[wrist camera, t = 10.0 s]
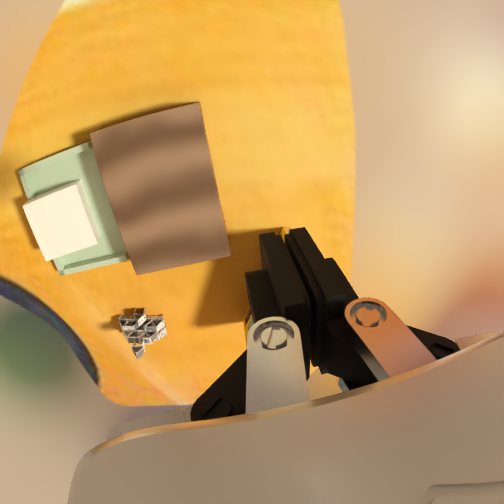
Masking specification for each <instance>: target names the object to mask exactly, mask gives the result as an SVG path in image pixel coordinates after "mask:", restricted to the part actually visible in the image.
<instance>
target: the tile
mask: <svg viewBox="0 0 504 504" xmlns="http://www.w3.org/2000/svg"><path fill="white" fill-rule="evenodd" d="M23 209H24V212H25V214H26V217H27V219H28V222H29V224H30V226H31V229H32V231H33V234H34V236H35V238H36V240H37V243H38V245H39V247H40V249H41V252H42V254H43V256H44V258H45V260H46V261H49V260H52V259H55V258H57V257H60V256H63V255H66V254H69V253H72V252H75V251H78V250H81V249H84V248H87V247H90V246H93V245H96V244H98V242H99V239H100V236H101V235H100V233H99V230H98V228H97V225H96V222H95V219H94V217H93V214H92V211H91V208H90V206H89V203H88V200H87V197H86V194H85V191H84V188H83V185H82V182H81V179H79V180H77V181H74V182H71V183H69V184H66V185H64V186H61V187H58V188H56V189H53V190H51V191H49V192H46V193H44V194H41V195H39V196H37V197H34V198H32V199H30V200H28V201H27V202H26V203H25V204H24V205H23Z"/></svg>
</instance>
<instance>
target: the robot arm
mask: <svg viewBox="0 0 504 504" xmlns="http://www.w3.org/2000/svg"><path fill="white" fill-rule="evenodd" d="M284 241H285V243H284ZM284 241H283V239H282V237H281V235H277V236H276V235H275V233H274V232H271V233H265V234H259V242H260V251H261V260H262V269H263V270H258V271H252V272H246V273H245V279H246V285H247V292H248V298H249V304H250V309H251V314H252V318H253V323H254V325H252V327H251V328H250V330H249V332H248V336H247V349H246V351H245V352H244V353H243V354H242V355H241V356H240V357H239V358H238V359H237V360H236V361H235V362H234V363H233V364H232V365H231V366H230V367H229V368H228V369H227V370H226V371H225V372H224V373H223V374H222V375H221V376H220V377H219V378H218V379H217V380H216V381H215V382H214V383H213V384H212V385H211V386H210V387H209V388H208V389H207V390H206V391H205V392H204V393H203V394H202V395H201V396H200V397H199V398H198V399H197V400H196V402H195V403H194V404H193V406H192V407H189V408H186V409H181V407H178V408H174V409H171V410H167V411H164V412H161V413H157V414H154V415H150V416H146V417H142V418H138V419H134V420H130V421H126V422H122V423H120V424H118V425H116V426H114V427H113V428H112V429H111V430H110V432H109V434H108V436H107V441H105V442H103V443H101V444H99V445H97V446H95V447H94V448H92V449H91V450H89V451H88V452H87V453H86V454H85V455H84V456H83V457H82V459H81V460H80V462H79V463H78V465H77V467H76V470H75V472H74V476H73V479H72V482H71V487H70V492H69V498H68V504H504V331H503V332H492V333H487V334H481V335H475V336H470V337H464V338H458V339H456V340H455V342H453V341H452V340H449V339H447V338H445V337H442V336H438V335H435V334H432V333H429V332H425V331H423V330H419V329H416V328H413V327H410V326H407V325H405V324H404V323H403V322H402V320H401V319H400V318H399V317H398V316H397V315H396V314H395V313H394V312H393V311H392V310H391V309H390V308H389V307H388V306H387V305H386V304H385V303H384V302H382V301H380V300H378V299H374V298H360V299H359V298H358V296H357V295H356V293H355V291H354V290H353V288H352V286H351V285H350V283H349V282H348V280H347V279H346V277H345V275H344V274H343V272H342V271H341V269H340V268H339V266H338V265H337V263H336V262H335V260H334V259H333V258H326V259H324V257H323V255H322V254H321V252H320V251H319V249H318V247H317V246H316V244H315V243H314V241H313V239H312V238H311V236H310V235H309V233H308V231H307V230H306V228H305V227H302V228H296V229H290V230H289V234H285V235H284ZM310 360H311V363H312V365H313V367H316V366H318V367H319V369H320V372H321V374H325V373H329V374H332V375H334V376H336V380H337V383H338V385H339V387H340V389H341V390H342V393H339V394H335V395H331V396H327V397H323V398H320V399H316V400H312V401H309V396H308V388H307V380H308V379H309V372H310Z"/></svg>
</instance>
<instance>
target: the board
mask: <svg viewBox="0 0 504 504" xmlns="http://www.w3.org/2000/svg"><path fill="white" fill-rule="evenodd" d="M90 138H91V141H92V145H93V149H94V152H95V156H96V159H97V163H98V166H99V170H100V173H101V176H102V179H103V183H104V186H105V189H106V192H107V195H108V198H109V201H110V204H111V207H112V210H113V213H114V216H115V219H116V222H117V225H118V227H119V230H120V233H121V236H122V238H123V241H124V244H125V247H126V249H127V252H128V254H129V257H130V260H131V262H132V265H133V267H134V270H135V272H136V275H141V274H145V273H150V272H155V271H160V270H165V269H170V268H175V267H180V266H184V265H189V264H194V263H199V262H204V261H209V260H214V259H218V258H223V257H228V256H231V252H230V246H229V239H228V235H227V230H226V226H225V221H224V217H223V212H222V207H221V203H220V198H219V193H218V188H217V184H216V179H215V174H214V169H213V165H212V160H211V155H210V150H209V145H208V140H207V135H206V130H205V125H204V120H203V115H202V110H201V105H200V102H196V103H191V104H187V105H182V106H178V107H174V108H170V109H166V110H162V111H158V112H154V113H151V114H147V115H144V116H140V117H137V118H133V119H130V120H127V121H123V122H120V123H117V124H114V125H111V126H108V127H105V128H102V129H99V130H97V131H95V132H93V133H90Z"/></svg>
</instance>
